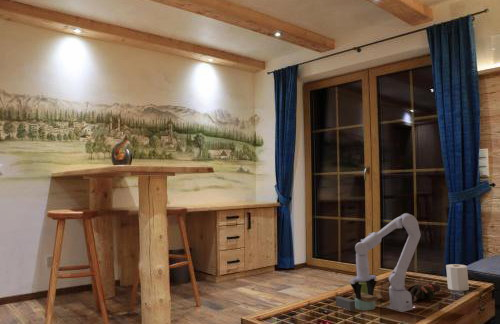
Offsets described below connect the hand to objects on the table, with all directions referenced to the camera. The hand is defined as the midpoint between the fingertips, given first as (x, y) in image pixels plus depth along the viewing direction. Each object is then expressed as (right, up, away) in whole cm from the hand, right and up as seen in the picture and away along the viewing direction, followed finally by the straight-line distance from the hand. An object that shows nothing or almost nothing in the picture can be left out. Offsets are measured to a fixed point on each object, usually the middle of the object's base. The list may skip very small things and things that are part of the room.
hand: (364, 297), depth 194 cm
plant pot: (+4, -6, +15) cm, 17 cm away
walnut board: (0, -1, 0) cm, 1 cm away
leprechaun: (+31, -5, +11) cm, 34 cm away
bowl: (0, -5, 0) cm, 5 cm away
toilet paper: (+58, -4, +26) cm, 63 cm away
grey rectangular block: (-9, -5, -1) cm, 11 cm away
